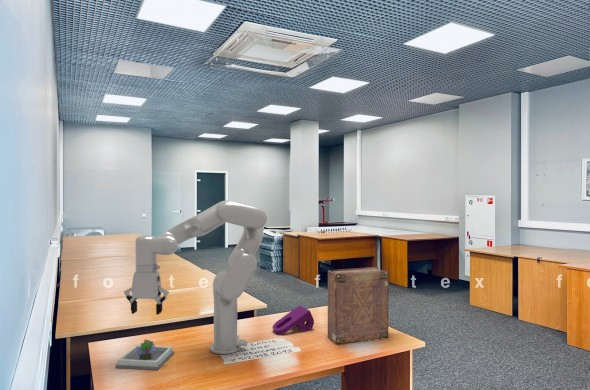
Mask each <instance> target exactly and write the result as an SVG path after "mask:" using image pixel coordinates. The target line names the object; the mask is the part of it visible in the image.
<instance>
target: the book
mask: <svg viewBox="0 0 590 390" xmlns="http://www.w3.org/2000/svg"><path fill="white" fill-rule="evenodd" d="M389 273H390V272H389V271H388V270H381V269H379V266H371V267H370V266H369V267H357V268H345V269H344V268H343V269H342V268H341V269H329V270H327V338H328V339H329V340H330V341H332V342H333V343H334V344H335V345H336V344H338V345H345V344H352V343H360V342H361V341H363V342H369V341H368V340H371V341H376V340H375V339H379V340H382V339H381V338H387V339H389V297H390V296H389V293H390V291H389V287H390V286H389V281H390V279H389Z"/></svg>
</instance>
